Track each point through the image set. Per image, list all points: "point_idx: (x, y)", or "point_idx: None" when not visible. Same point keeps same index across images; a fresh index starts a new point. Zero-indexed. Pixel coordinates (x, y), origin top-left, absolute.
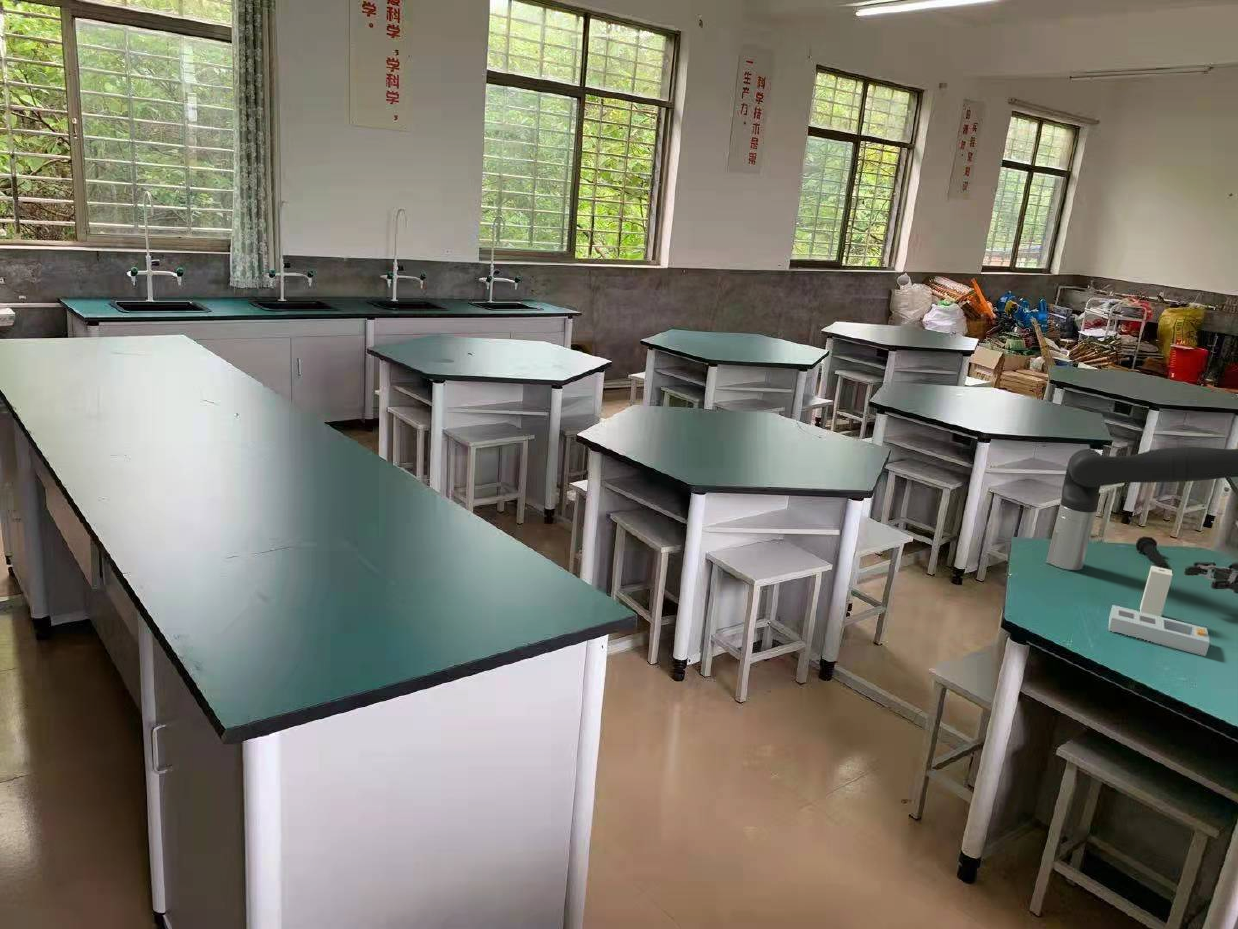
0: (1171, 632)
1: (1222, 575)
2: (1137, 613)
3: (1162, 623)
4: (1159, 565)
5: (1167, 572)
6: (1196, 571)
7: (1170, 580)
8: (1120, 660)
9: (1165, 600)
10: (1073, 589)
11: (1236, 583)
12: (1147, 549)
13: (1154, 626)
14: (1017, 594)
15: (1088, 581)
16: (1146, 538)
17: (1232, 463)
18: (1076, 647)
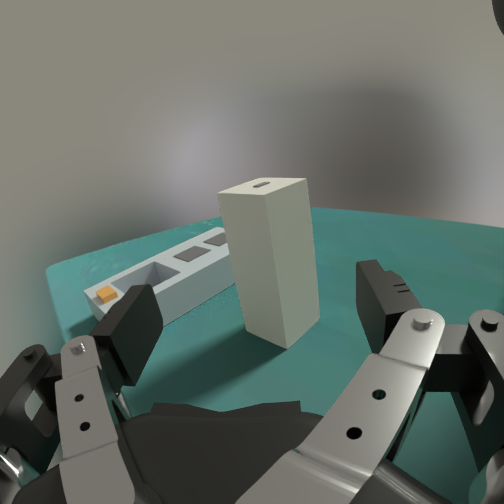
0: (139, 263)
1: (202, 415)
2: (220, 250)
3: (169, 265)
4: None
5: (244, 189)
6: (376, 329)
7: (221, 209)
8: (154, 242)
9: (234, 275)
10: (407, 253)
11: (42, 345)
12: None
13: (167, 253)
14: (350, 211)
15: (477, 282)
16: None
17: None
18: (195, 225)
